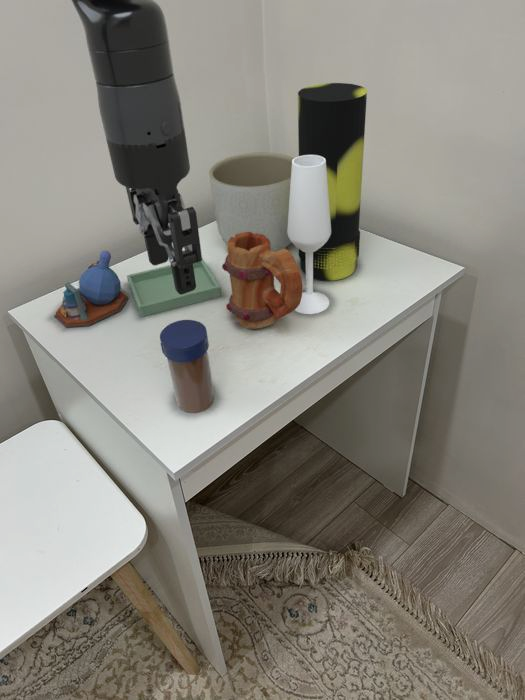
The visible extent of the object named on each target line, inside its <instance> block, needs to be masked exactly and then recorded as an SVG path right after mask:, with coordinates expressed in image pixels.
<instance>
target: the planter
mask: <svg viewBox="0 0 525 700" xmlns="http://www.w3.org/2000/svg"><path fill="white" fill-rule="evenodd" d="M294 158H295V157H293V156H290V155H288V154H283V153H277V152H266V151H265V152H264V151H261V152H247V153H241V154H235V155H233V156H229V157H226V158H224V159H222V160H219V161H218V162H216V163H214V164H213V165H212V166H211V167H210V169H209V171H208V177H209V185H210V192H211V199H212V206H213V212H214V217H215V222H216V226H217V230H218V233H219V236H220V238H221V240H223V242H224V243H225V244H226V245H227V244H228V241H229V239H230V237H234V238H235V235H236V234H239V233H244V232H252V233H253V234H256V233H258V234H263V235H265V236H266V238H268V239H269V240H270V245H271V251H273V252H277V251H279V250H281V249H286V248H287V247H288V246H289V245H290V244H292V242H291V240H290V239H289V237H288V234H287V228H288V213H289V198H290V184H291V169H292V160H293V159H294Z"/></svg>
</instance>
